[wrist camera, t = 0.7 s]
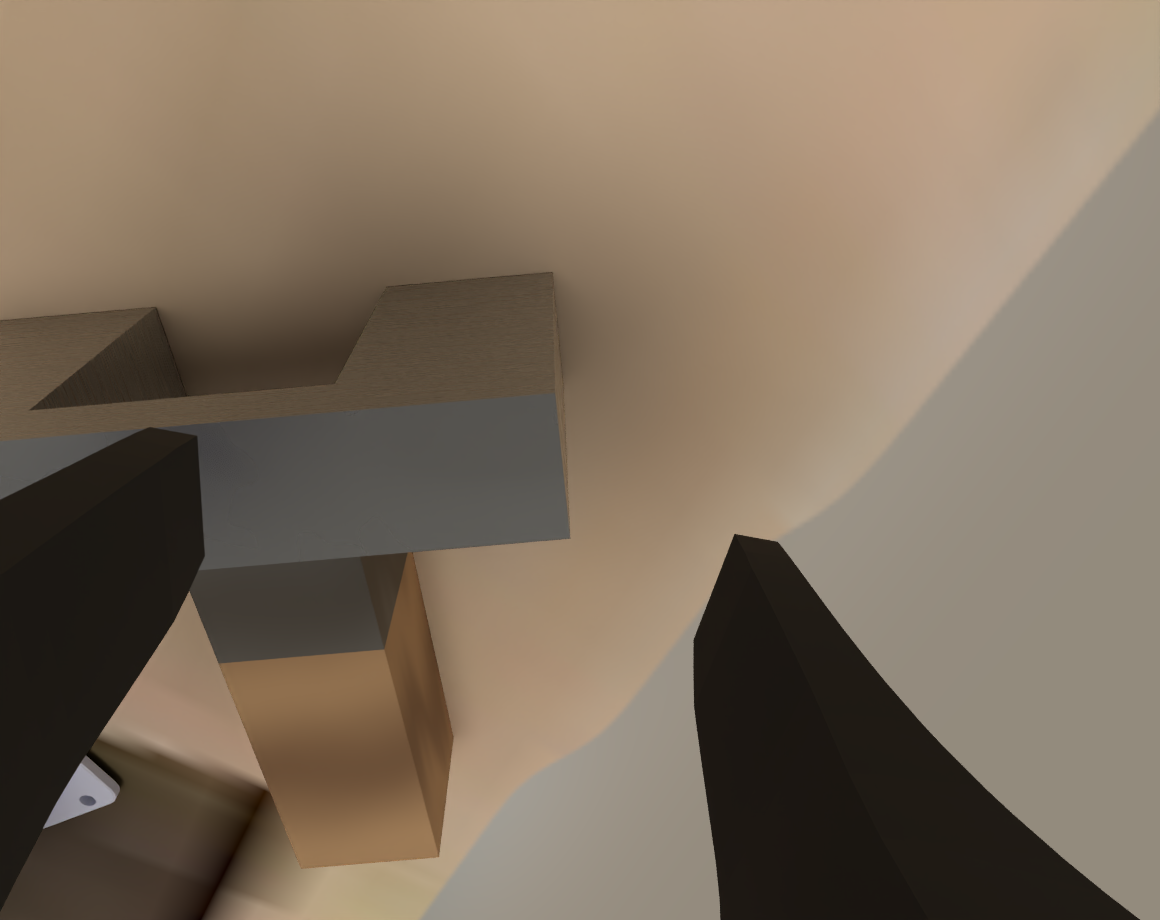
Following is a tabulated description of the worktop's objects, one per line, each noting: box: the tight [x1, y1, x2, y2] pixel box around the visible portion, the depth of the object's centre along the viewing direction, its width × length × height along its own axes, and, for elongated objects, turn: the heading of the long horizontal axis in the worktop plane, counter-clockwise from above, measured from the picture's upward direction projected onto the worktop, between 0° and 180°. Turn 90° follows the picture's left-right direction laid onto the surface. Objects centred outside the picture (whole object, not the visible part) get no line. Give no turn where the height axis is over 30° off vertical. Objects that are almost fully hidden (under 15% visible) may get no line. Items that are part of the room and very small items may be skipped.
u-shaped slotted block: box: [0, 272, 570, 570], centre depth 18 cm, size 3×14×7 cm, turn 94°
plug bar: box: [189, 552, 453, 869], centre depth 23 cm, size 11×4×4 cm, turn 4°
